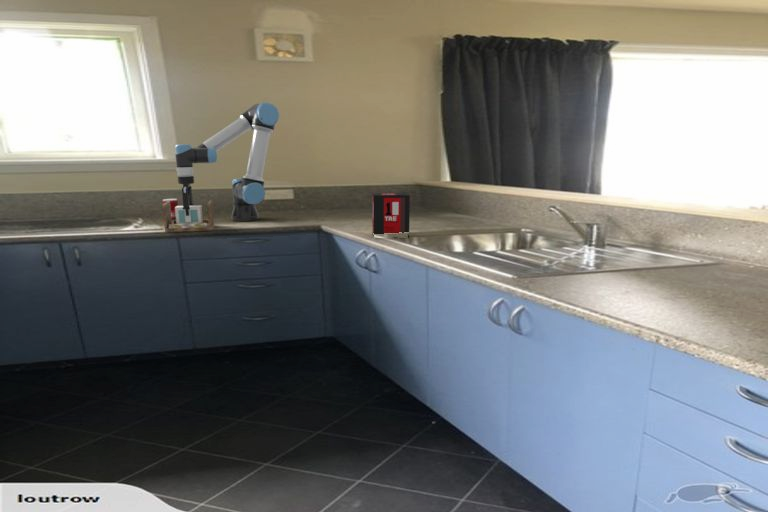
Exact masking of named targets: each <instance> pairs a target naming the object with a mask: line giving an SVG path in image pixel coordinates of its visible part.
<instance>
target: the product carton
mask: <svg viewBox="0 0 768 512" xmlns="http://www.w3.org/2000/svg"><path fill="white" fill-rule="evenodd" d="M190 212H191V222H185V211H184V209H183V205H178V206H176V207H175V213H176V219H175V220H176V223H177V224H192V223H203V218H204V217H203V205H202V204H200V205H199V204H198V205H195V204H193V205H191V206H190Z"/></svg>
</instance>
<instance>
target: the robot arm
mask: <svg viewBox="0 0 768 512" xmlns="http://www.w3.org/2000/svg"><path fill="white" fill-rule="evenodd" d="M279 119H280V112H279V109H278V108H277V107H276V105H275V104H273V103H271V102H261V103H256V104H253V105H251V107H249V108H248V109H246V111H244V112H243V113H241V114H240V115H239V118H237V119H236V120H234V121H233V122H231V123H230V124H229V125H227V126H226V127H224V128H222V130H220V131H218V132H217V133H215V134H214V135H212V136H210V137H209V138H207V139H206V140H205V141H204V142H202V143H200V144H199V145H198V146H196V147H192V145H191V144H190V143H189V144H188V143H187V144H186V143H184V144H181V143H180V144H176V145H175V147H174V151H175V161H176V163H175V164H176V168H175V171H176V172H177V183H178V184H179V185H182V187H181V193H182V206H183V209H184V211H185V222H191V212H190V206H191V205H194V199H193V192H192V190H193V189H192V186H191V185H193V184H195V177H194V176H193V175H194V173H195V172H194V166H193V164H215V163H216V162H217V160H218V155H217V152H219V150H221V149H223V148H224V147H225V146H227V145H228V144H230V143H231V142H232V141H234V140H236V139H237V138H239V137H240V136H242V135H243V134H245V133H246V132H247V131H252V130H253V131H252V137H251V138H252V140H251V144H250V151H249V156H248V162H247V166H246V167H247V168H246V171H245V175H243V176H242V178H234V179H233V180H232V182H231V188H232V199H233V201H232V202H233V209H232V212H231V215H230V216H231V221H234V222H252V221H257V220H259V219H260V218H259V217H260V216H259V215H260V214H259V212H258V210H257V207H256V205H257V204H259V203H261V202H262V201H263V200H264V199H265V195H266V190H265V188H264V186H265V179H264V178H263V176H264V170H265V165H266V164H265V163H266V159H267V158H266V157H267V153H268V147H269V142H270V137H271V133H273V132H274V131H275V125H276V124H277V123H278V121H279Z"/></svg>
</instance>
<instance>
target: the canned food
mask: <svg viewBox="0 0 768 512" xmlns="http://www.w3.org/2000/svg"><path fill="white" fill-rule="evenodd" d="M168 201H170V207H171V216H172V220H176V213H175V207H176V206H179V202H178V201H179V200H178V198H163V199H162V205H163V204H164V203H166V202H168Z"/></svg>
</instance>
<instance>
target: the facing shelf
mask: <svg viewBox="0 0 768 512" xmlns="http://www.w3.org/2000/svg"><path fill="white" fill-rule="evenodd" d="M213 204H214V203H213V200H212V199H211V200H209V201H208V202H207V203H206V208H207V218H206V219H203V223H192V224H177V223H176V219H172V216H171V207H170V201H168V202H166V203H164V204H163V203H162V206H161V207H162V217H163V226H164V232H165V233H168V232H169V233H170V232H172V233H173V232H195V231H198V232H199V231H212V229H214V227H215V216H214V215H215V214H214V205H213Z"/></svg>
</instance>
